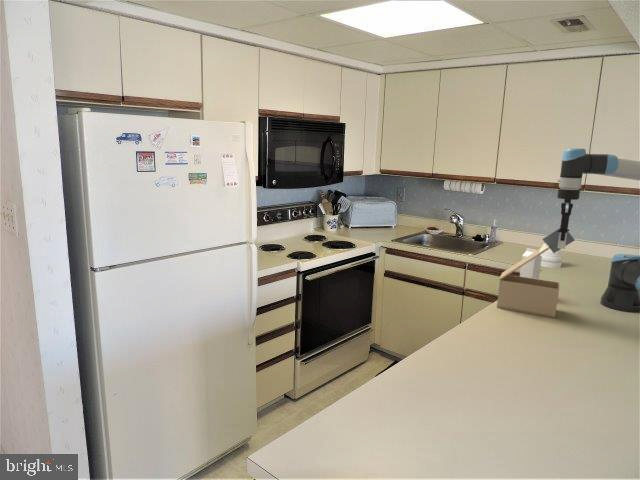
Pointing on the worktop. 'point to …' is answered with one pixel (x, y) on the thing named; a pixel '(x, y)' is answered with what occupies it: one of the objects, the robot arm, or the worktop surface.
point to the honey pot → (551, 259)
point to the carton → (528, 295)
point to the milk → (531, 265)
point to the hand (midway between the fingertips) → (561, 247)
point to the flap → (540, 250)
